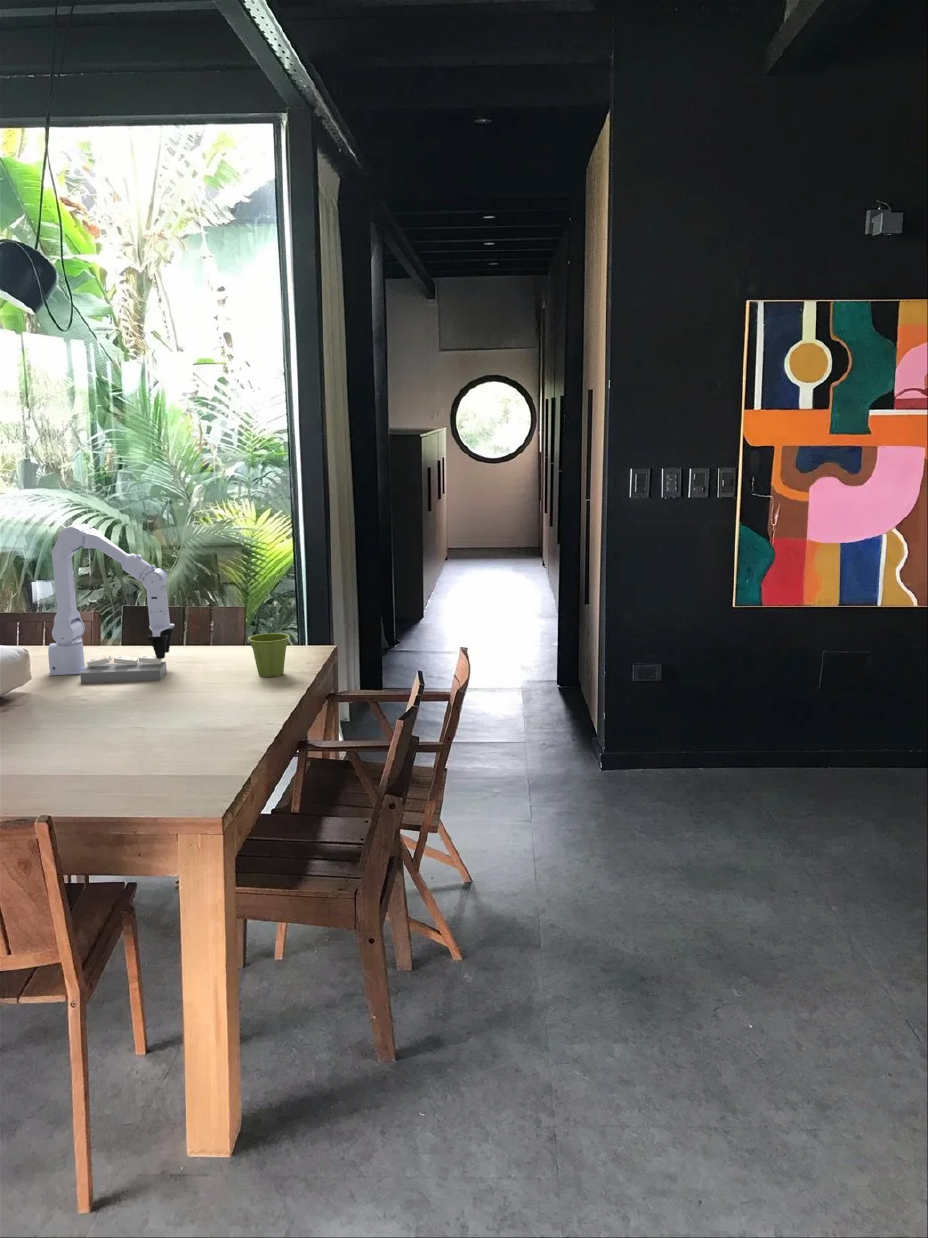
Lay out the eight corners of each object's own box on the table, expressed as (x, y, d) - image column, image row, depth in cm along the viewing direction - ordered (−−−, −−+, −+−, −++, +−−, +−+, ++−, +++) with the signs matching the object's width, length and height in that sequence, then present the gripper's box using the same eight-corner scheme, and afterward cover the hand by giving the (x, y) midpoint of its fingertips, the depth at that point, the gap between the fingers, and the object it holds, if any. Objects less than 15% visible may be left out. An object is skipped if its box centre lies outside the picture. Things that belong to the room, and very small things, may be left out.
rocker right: (138, 662, 282) (138, 657, 282) (140, 659, 286) (141, 654, 286) (159, 664, 283) (160, 659, 283) (161, 661, 287) (162, 656, 286)
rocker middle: (113, 662, 282) (114, 658, 281) (116, 660, 285) (116, 655, 285) (135, 665, 282) (135, 660, 282) (137, 662, 286) (137, 657, 286)
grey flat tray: (81, 683, 276) (80, 672, 276) (89, 674, 286) (88, 664, 285) (160, 680, 279) (159, 669, 278) (166, 671, 289) (165, 661, 288)
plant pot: (295, 669, 290) (294, 632, 288) (284, 680, 278) (283, 641, 276) (257, 669, 291) (255, 632, 289) (244, 679, 280) (242, 641, 277)
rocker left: (87, 667, 281) (86, 662, 281) (90, 664, 284) (89, 659, 284) (108, 663, 281) (107, 658, 281) (111, 660, 285) (110, 655, 284)
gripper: (168, 614, 279) (172, 660, 282) (176, 605, 293) (180, 649, 296) (143, 615, 278) (147, 661, 281) (152, 606, 292) (156, 650, 295)
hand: (163, 655), depth 288 cm, fingers open, 7 cm apart
